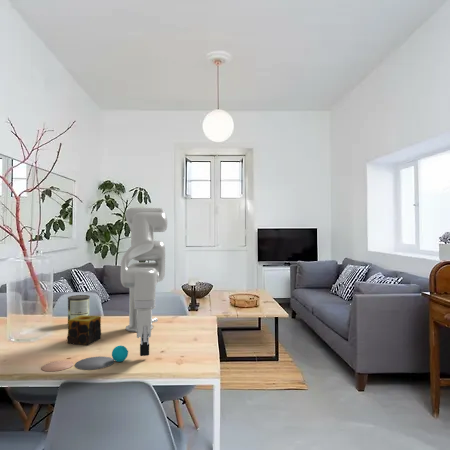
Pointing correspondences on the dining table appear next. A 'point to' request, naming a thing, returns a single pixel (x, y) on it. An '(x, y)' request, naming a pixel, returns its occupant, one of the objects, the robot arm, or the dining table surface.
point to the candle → (84, 330)
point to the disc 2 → (94, 363)
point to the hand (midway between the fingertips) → (144, 355)
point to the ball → (119, 353)
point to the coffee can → (78, 306)
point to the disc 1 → (57, 366)
